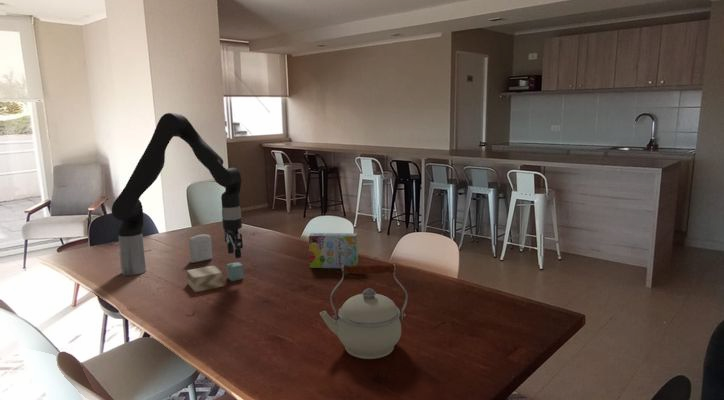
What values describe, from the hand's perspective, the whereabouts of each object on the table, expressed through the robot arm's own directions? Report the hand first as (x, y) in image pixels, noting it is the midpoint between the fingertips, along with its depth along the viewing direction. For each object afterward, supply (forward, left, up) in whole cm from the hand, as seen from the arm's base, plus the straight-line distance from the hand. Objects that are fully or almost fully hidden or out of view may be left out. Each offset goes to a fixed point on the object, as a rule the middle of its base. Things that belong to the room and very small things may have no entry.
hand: (234, 255), depth 190 cm
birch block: (-13, 0, -10) cm, 16 cm away
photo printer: (-4, +34, -10) cm, 36 cm away
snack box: (+41, -12, -10) cm, 44 cm away
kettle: (+9, -80, -10) cm, 81 cm away
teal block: (0, 0, -10) cm, 10 cm away
